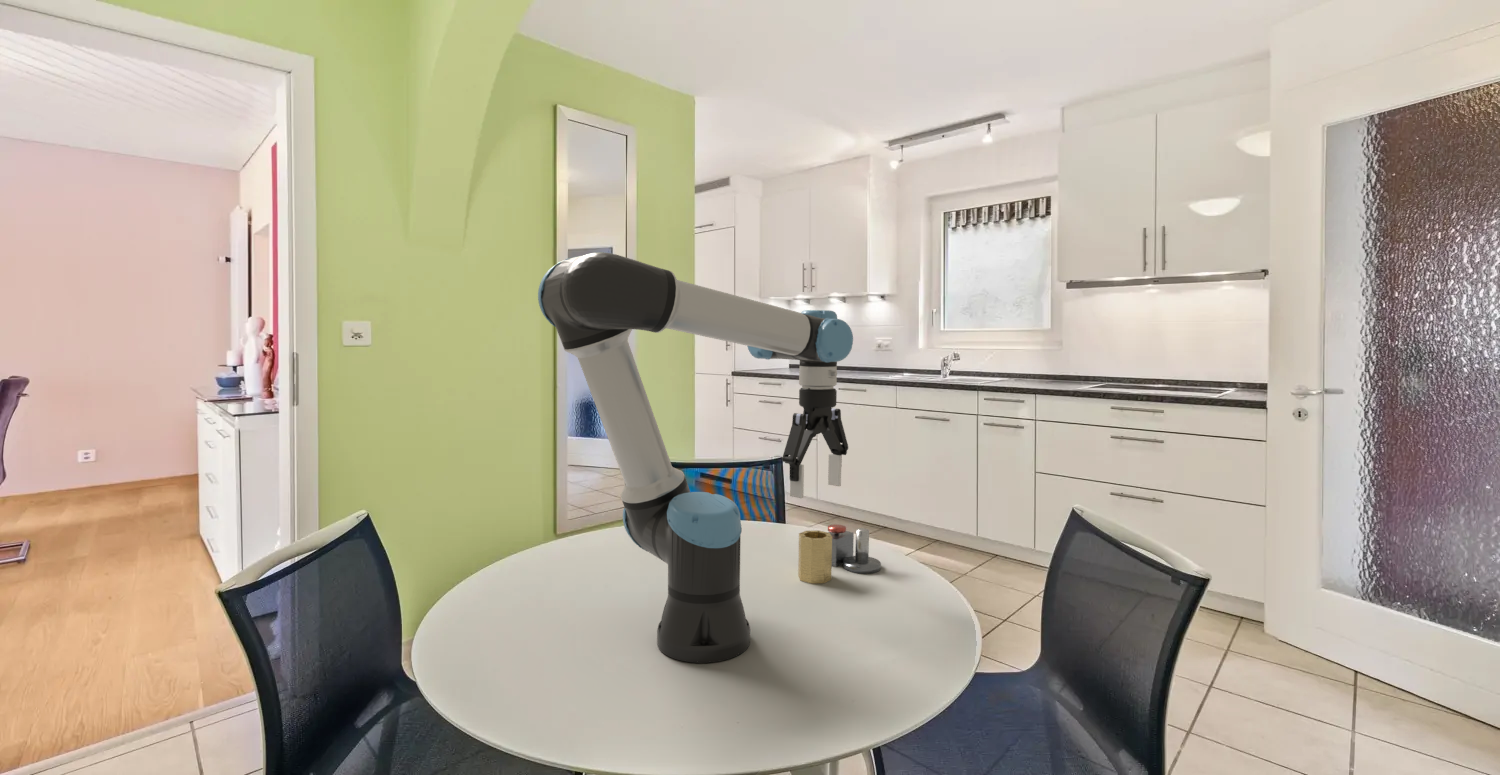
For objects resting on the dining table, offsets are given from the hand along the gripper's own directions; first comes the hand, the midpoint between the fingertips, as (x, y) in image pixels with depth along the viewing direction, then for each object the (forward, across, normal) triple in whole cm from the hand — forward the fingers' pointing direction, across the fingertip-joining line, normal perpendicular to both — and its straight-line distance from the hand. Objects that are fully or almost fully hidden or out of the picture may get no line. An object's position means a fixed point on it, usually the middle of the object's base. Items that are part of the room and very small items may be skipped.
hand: (816, 491), depth 139 cm
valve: (+18, +12, -2) cm, 22 cm away
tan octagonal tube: (+18, 0, 0) cm, 18 cm away
